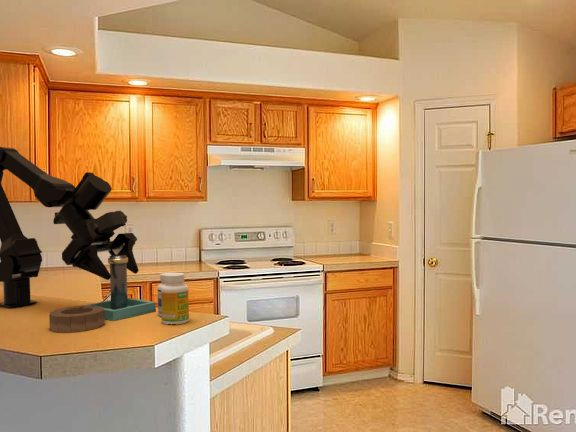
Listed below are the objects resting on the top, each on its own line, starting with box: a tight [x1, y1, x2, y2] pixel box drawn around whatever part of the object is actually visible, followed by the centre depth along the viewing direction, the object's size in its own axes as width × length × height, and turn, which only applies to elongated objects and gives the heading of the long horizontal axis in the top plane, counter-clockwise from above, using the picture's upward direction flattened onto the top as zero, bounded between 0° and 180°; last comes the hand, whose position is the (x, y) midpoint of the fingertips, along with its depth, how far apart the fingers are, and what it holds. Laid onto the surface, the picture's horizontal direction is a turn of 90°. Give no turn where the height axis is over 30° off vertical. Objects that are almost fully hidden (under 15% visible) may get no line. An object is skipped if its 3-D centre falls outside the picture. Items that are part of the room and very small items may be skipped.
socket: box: [48, 305, 106, 333], centre depth 104 cm, size 10×10×3 cm
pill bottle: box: [157, 271, 175, 317], centre depth 113 cm, size 5×5×9 cm
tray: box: [81, 297, 157, 322], centre depth 115 cm, size 11×11×2 cm
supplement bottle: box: [161, 272, 190, 325], centre depth 106 cm, size 5×5×10 cm
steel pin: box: [107, 255, 128, 310], centre depth 115 cm, size 4×4×12 cm
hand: (123, 275), depth 115 cm, fingers open, 9 cm apart
